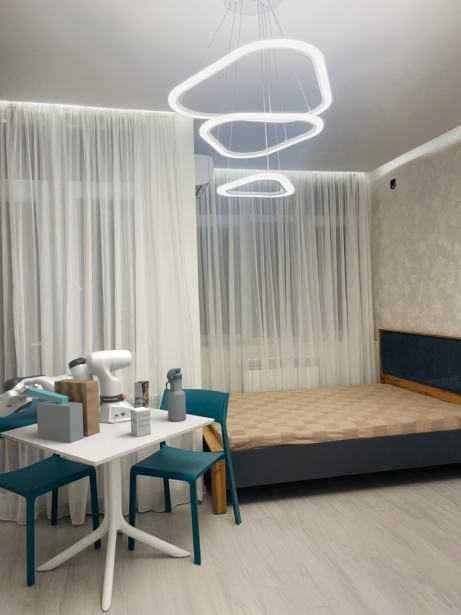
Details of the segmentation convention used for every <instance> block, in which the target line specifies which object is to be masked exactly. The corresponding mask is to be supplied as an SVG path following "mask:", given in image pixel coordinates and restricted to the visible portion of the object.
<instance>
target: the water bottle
mask: <svg viewBox="0 0 461 615" xmlns="http://www.w3.org/2000/svg"><path fill="white" fill-rule="evenodd" d="M181 371H182V369H181V367H176V368H171V369H169V370H168V371H167V373H166V379H167V381H166V382H165V391H166V392H167V419H168V421H169V422H171V423H172V422H173V423H174V422H175V423H176V422H183V421H185V420H186V419H187V408H186V406H187V405H186V403H187V402H186V392H185V391H184V390H183V373H181ZM168 384H169V389H168Z"/></svg>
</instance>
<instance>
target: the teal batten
mask: <svg viewBox="0 0 461 615" xmlns="http://www.w3.org/2000/svg"><path fill="white" fill-rule="evenodd" d="M27 386H28V387H29V389H28V390H25V391H24V392H23V393H24V394H26V395H29V396H33V397H34V398H37V399H42V400H45V401H51V402H55V403H59V404H65V403H68V396H64V395H60V394H57V393H53V392H49V391H45V390H41V389H38V388H34V387H30V386H31V385H27ZM21 388H23V387H21ZM33 397H32V398H33Z"/></svg>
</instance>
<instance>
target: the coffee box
mask: <svg viewBox="0 0 461 615" xmlns="http://www.w3.org/2000/svg"><path fill="white" fill-rule="evenodd" d="M149 383H150V382H149V380H140V381H136V382H134V383H133V387H134V388H133V389H134V393H133V394H134V408H139V407H145V408H148V407H150V388H149V387H150V384H149Z"/></svg>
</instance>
